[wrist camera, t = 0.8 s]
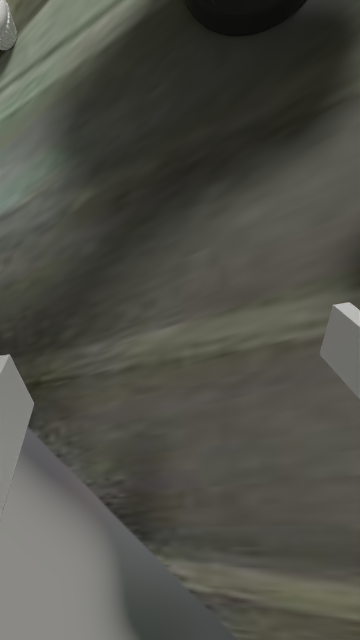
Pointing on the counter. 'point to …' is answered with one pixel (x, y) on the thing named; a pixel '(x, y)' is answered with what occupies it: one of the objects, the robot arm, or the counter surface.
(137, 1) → the counter surface
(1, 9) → the muffin
